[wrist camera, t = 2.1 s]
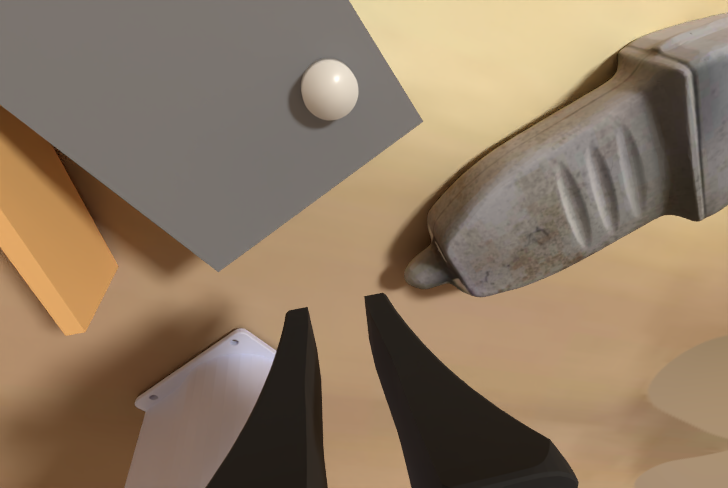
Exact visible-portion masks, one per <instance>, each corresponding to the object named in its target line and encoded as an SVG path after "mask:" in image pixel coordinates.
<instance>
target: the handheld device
mask: <svg viewBox="0 0 728 488" xmlns="http://www.w3.org/2000/svg"><path fill="white" fill-rule="evenodd" d="M617 61H618V68H617V72H616V73H615V75H614V76H613V77H612V78H611V79H610V80H609V81H607V82H606V83H604V84H603V85H601V86H599V87H598V88H596V89H594V90H593V91H591V92H589V93H588V94H586V95H584V96H582V97H581V98H579V99H577V100H576V101H574V102H572V103H571V104H569V105H567V106H565V107H564V108H562V109H560V110H559V111H557V112H555V113H553V114H552V115H550V116H548V117H547V118H545V119H543V120H541V121H540V122H538V123H536V124H535V125H533V126H532V127H530V128H528V129H527V130H525V131H523V132H522V133H520V134H518V135H516V136H515V137H513V138H512V139H510V140H508V141H507V142H505V143H503V144H502V145H500V146H499V147H497V148H496V149H494V150H493V151H491V152H490V153H489V154H487V155H486V156H485V157H483V158H482V159H481V160H479V161H478V162H477V163H476V164H474V165H473V166H472V167H471V168H469V169H468V170H467V171H466V172H465V173H464V174H463V175H461V176H460V177H459V178H458V179H457V180H456V181H455V182H454V183H453V184H452V185H451V186H450V187H449V188H448V189H447V190H446V191H445V193H444V194H443V195H442V196H441V197H440V198H439V199H438V200H437V202H436V203H435V204H434V205H433V206H432V208H431V209H430V210H429V212H428V216H427V225H428V230H429V233H430V237H431V244H430V245H429V246H428V247H427V248H426V249H424V250H423V251H422V252H420V253H419V254H418V255H417V256H415V257H414V258H413V259H412V260H411V262H410V263H409V264H408V265H407V267H406V269H405V274H404V278H405V280H406V282H407V283H408V284H409V285H411V286H413V287H416V288H420V289H429V288H432V287H436V286H439V285H443V284H446V283H450V284H452V285H454V286H455V287H456V288H458V289H459V290H461V291H462V292H464V293H467V294H469V295H471V296H476V297H486V296H490V295H494V294H498V293H502V292H505V291H509V290H513V289H517V288H520V287H523V286H526V285H529V284H531V283H534V282H536V281H539V280H541V279H544V278H546V277H548V276H550V275H553V274H555V273H557V272H559V271H561V270H563V269H565V268H567V267H569V266H571V265H573V264H575V263H577V262H579V261H581V260H583V259H584V258H586V257H588V256H590V255H592V254H594V253H595V252H597V251H599V250H601V249H603V248H604V247H606V246H608V245H610V244H611V243H613V242H615V241H617V240H619V239H620V238H622V237H624V236H626V235H627V234H629V233H631V232H633V231H635V230H636V229H638V228H640V227H642V226H643V225H645V224H647V223H649V222H650V221H652V220H654V219H656V218H658V217H660V216H663V215H676V216H680V217H683V218H686V219H689V220H692V221H701V220H703V219H704V218H706V217H708V216H711V215H713V214H715V213H717V212H718V211H720V210H721V209H723V208H724V207H725V206H727V205H728V13H723V14H718V15H713V16H709V17H706V18H702V19H697V20H693V21H689V22H685V23H682V24H678V25H675V26H671V27H668V28H665V29H661V30H658V31H655V32H652V33H649V34H647V35H644V36H642V37H640V38H638V39H636V40H634V41H633V42H631V43H629V44H628V45H626V46H625V47H624V48H623V49H621V50H620V51H619V53H618V59H617Z"/></svg>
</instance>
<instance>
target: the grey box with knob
mask: <svg viewBox="0 0 728 488" xmlns="http://www.w3.org/2000/svg"><path fill="white" fill-rule="evenodd" d="M0 105H1V106H2V107H4V108H5V109H6V110H8V111H9V112H10V113H11V114H13V115H14V116H15V117H17V118H18V119H19V120H21V121H22V122H23V123H25V124H26V125H27V126H28V127H30V128H31V129H32V130H34V131H35V132H36V133H38V134H39V135H40V136H41V137H43V138H44V139H45V140H47V141H48V142H49V143H51V144H52V145H53V146H55V147H56V148H57V149H58V150H60V151H61V152H62V153H64V154H65V155H66V156H68V157H69V158H70V159H71V160H73V161H74V162H75V163H77V164H78V165H79V166H81V167H82V168H83V169H85V170H86V171H87V172H88V173H90V174H91V175H92V176H94V177H95V178H96V179H98V180H99V181H100V182H102V183H103V184H104V185H105V186H107V187H108V188H109V189H111V190H112V191H113V192H115V193H116V194H117V195H118V196H120V197H121V198H122V199H124V200H125V201H126V202H128V203H129V204H130V205H132V206H133V207H134V208H135V209H137V210H138V211H139V212H141V213H142V214H143V215H145V216H146V217H147V218H148V219H150V220H151V221H152V222H154V223H155V224H156V225H158V226H159V227H160V228H162V229H163V230H164V231H165V232H167V233H168V234H169V235H171V236H172V237H173V238H175V239H176V240H177V241H178V242H180V243H181V244H182V245H184V246H185V247H186V248H188V249H189V250H190V251H192V252H193V253H194V254H195V255H197V256H198V257H199V258H201V259H202V260H203V261H205V262H206V263H207V264H209V265H210V266H211V267H212V268H214V269H215V270H216V271H218V272H219V271H220V270H222V269H223V268H225V267H226V266H227V265H229V264H230V263H231V262H233V261H234V260H235V259H237V258H238V257H240V256H241V255H242V254H244V253H245V252H246V251H248V250H249V249H250V248H252V247H253V246H254V245H256V244H257V243H259V242H260V241H261V240H263V239H264V238H265V237H267V236H268V235H269V234H271V233H272V232H274V231H275V230H276V229H278V228H279V227H280V226H282V225H283V224H284V223H286V222H287V221H288V220H290V219H291V218H293V217H294V216H295V215H297V214H298V213H299V212H301V211H302V210H303V209H305V208H306V207H308V206H309V205H310V204H312V203H313V202H314V201H316V200H317V199H318V198H320V197H321V196H323V195H324V194H325V193H327V192H328V191H329V190H331V189H332V188H333V187H335V186H336V185H337V184H339V183H340V182H342V181H343V180H344V179H346V178H347V177H348V176H350V175H351V174H352V173H354V172H355V171H357V170H358V169H359V168H361V167H362V166H363V165H365V164H366V163H367V162H369V161H370V160H371V159H373V158H374V157H376V156H377V155H378V154H380V153H381V152H382V151H384V150H385V149H386V148H388V147H389V146H391V145H392V144H393V143H395V142H396V141H397V140H399V139H400V138H401V137H403V136H404V135H406V134H407V133H408V132H410V131H411V130H412V129H414V128H415V127H416V126H418V125H419V124H420V123H422V122H423V120H422V119H421V117H420V115H419V114H418V112H417V111H416V109H415V107H414V106H413V104H412V102H411V101H410V99H409V98H408V96H407V94H406V93H405V91H404V89H403V88H402V86H401V85H400V83H399V81H398V80H397V78H396V76H395V75H394V73H393V72H392V70H391V68H390V67H389V65H388V63H387V62H386V60H385V59H384V57H383V55H382V54H381V52H380V50H379V49H378V47H377V46H376V44H375V42H374V41H373V39H372V37H371V36H370V34H369V33H368V31H367V29H366V28H365V26H364V24H363V23H362V21H361V20H360V18H359V16H358V15H357V13H356V11H355V10H354V8H353V7H352V5H351V3H350V2H349V0H0Z"/></svg>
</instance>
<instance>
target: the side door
mask: <svg viewBox="0 0 728 488" xmlns="http://www.w3.org/2000/svg"><path fill="white" fill-rule="evenodd" d="M0 247H1V249H2V250H3V252H4V253H5V254H6V256H7V257H8V258H9V260H10V261H11V262H12V264H13V265H14V266H15V268H16V269H17V271H18V272H19V273H20V275H21V276H22V277H23V279H24V280H25V281H26V283H27V284H28V285H29V287H30V288H31V290H32V291H33V292H34V294H35V295H36V296H37V298H38V299H39V300H40V302H41V303H42V305H43V306H44V307H45V309H46V310H47V311H48V313H49V314H50V315H51V317H52V318H53V319H54V321H55V322H56V324H57V325H58V326H59V328H60V329H61V330H62V332H63V333H64V334H65V336H67V335H72V334H78V333H83V332H86V330H87V328H88V326H89V324H90V322H91V320H92V318H93V316H94V314H95V312H96V310H97V308H98V306H99V304H100V302H101V300H102V298H103V296H104V294H105V292H106V290H107V288H108V286H109V284H110V282H111V280H112V278H113V276H114V274H115V273H116V271H117V269H118V265H117V263H116V261H115V259H114V257H113V256H112V254H111V252H110V250H109V248H108V247H107V245H106V243H105V241H104V239H103V237H102V236H101V234H100V232H99V230H98V228H97V226H96V225H95V223H94V221H93V219H92V217H91V216H90V214H89V212H88V210H87V208H86V206H85V205H84V203H83V201H82V199H81V197H80V195H79V194H78V192H77V190H76V188H75V186H74V185H73V183H72V181H71V179H70V177H69V175H68V174H67V172H66V170H65V168H64V166H63V164H62V163H61V161H60V159H59V157H58V155H57V154H56V152H55V150H54V148H53V146H52V144H51V143H49V142H48V141H47V140H45V139H44V138H43V137H41V136H40V135H39V134H38V133H36V132H35V131H34V130H32V129H31V128H30V127H28V126H27V125H26V124H25V123H23V122H22V121H21V120H19V119H18V118H17V117H15V116H14V115H13V114H11V113H10V112H9V111H8V110H6V109H5V108H4V107H2V106H1V105H0Z"/></svg>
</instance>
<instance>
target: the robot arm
mask: <svg viewBox="0 0 728 488" xmlns="http://www.w3.org/2000/svg"><path fill="white" fill-rule="evenodd" d="M364 297H365V306H366V315H367V324H368V333H369V341H370V345H371V350H372V354H373V358H374V363H375V367H376V370H377V373H378V376H379V379H380V382H381V385H382V388H383V391H384V394H385V397H386V400H387V402H388V405H389V408H390V411H391V414H392V417H393V420H394V423H395V426H396V429H397V432H398V435H399V439H400V442H401V446H402V450H403V454H404V458H405V462H406V466H407V470H408V475H409V479H410V483H411V487H412V488H578V483H579V482H578V480H577V478H576V476H575V474H574V472H573V470H572V469H571V467H570V465H569V464H568V462H567V461H566V460H565V458H564V457H563V456H562V454H561V453H560V452H559V450H558V449H557V448H556V446H555V445H554V444H553V443H552V441H551V440H550V439H548V438H546V437H545V436H543V435H541V434H539V433H538V432H536V431H534V430H532V429H531V428H529V427H528V426H526V425H524V424H523V423H521V422H519V421H518V420H516V419H515V418H513V417H512V416H510V415H509V414H507V413H505V412H504V411H502V410H501V409H499V408H498V407H497V406H495V405H494V404H492V403H491V402H490V401H488V400H487V399H486V398H484V397H483V396H482V395H480V394H479V393H477V392H476V391H475V390H473V389H472V388H471V387H470V386H468V385H467V384H466V383H465V382H464V381H462V380H461V379H460V378H459V377H458V376H456V375H455V374H454V373H453V372H452V371H451V370H450V369H448V368H447V367H446V366H445V365H444V364H443V363H442V362H441V361H440V360H439V359H438V358H437V357H436V356H435V355H434V354H433V353H432V352H431V351H430V350H429V349H428V348H427V347H426V346H425V345H424V344H423V343H422V341H421V340H420V339H419V338H418V337H417V336H416V335H415V333H414V332H413V331H412V330H411V329H410V328H409V326H408V325H407V324H406V323H405V322H404V320H403V319H402V318H401V316H400V315H399V314H398V312H397V311H396V310H395V308H394V307H393V305H392V304H391V302H390V301H389V299H388V297H387V296H386V295H385V294H384V293H380V294H374V295H369V296H364ZM233 340H237V341H233ZM135 406H136V407H137V408H139V409H141V410H143V411H145V416H144V419H143V423H142V426H141V430H140V433H139V437H138V441H137V444H136V448H135V451H134V455H133V458H132V462H131V465H130V469H129V472H128V476H127V480H126V483H125V487H124V488H328V487H327V478H326V470H325V462H324V449H323V422H322V391H321V375H320V367H319V360H318V353H317V347H316V343H315V338H314V334H313V329H312V325H311V320H310V316H309V311H308V307H305V308H300V309H295V310H289V311H288V312H287V313H286V316H285V322H284V327H283V331H282V335H281V338H280V342H279V345H278V348H277V351H276V350H275V349H273V348H272V347H270V346H269V345H267V344H266V343H264V342H263V341H262V340H260V339H259V338H257V337H256V336H254V335H253V334H252V333H250V332H249V331H247V330H245V329H241V328H240V329H236V330H234V331H233V332H231V333H230V334H229V335H227V336H226V337H224V338H223V339H221V340H220V341H218V342H217V343H215V344H214V345H213V346H211V347H210V348H208V349H207V350H205V351H204V352H202V353H201V354H199V355H198V356H197V357H195V358H194V359H192V360H191V361H189V362H188V363H186V364H185V365H184V366H182V367H181V368H179V369H178V370H176V371H175V372H173V373H172V374H170V375H169V376H168V377H166V378H165V379H163V380H162V381H160V382H159V383H157V384H156V385H154V386H153V387H152V388H150V389H149V390H147V391H146V392H144V393H143V394H141V395H140V396H138V397H137V398H136V401H135Z"/></svg>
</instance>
